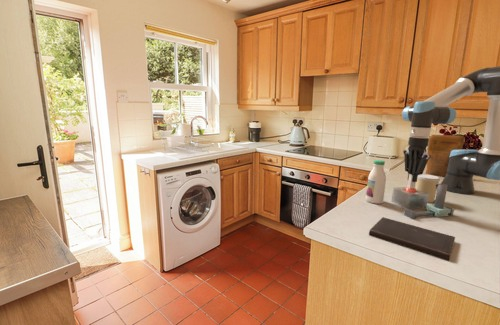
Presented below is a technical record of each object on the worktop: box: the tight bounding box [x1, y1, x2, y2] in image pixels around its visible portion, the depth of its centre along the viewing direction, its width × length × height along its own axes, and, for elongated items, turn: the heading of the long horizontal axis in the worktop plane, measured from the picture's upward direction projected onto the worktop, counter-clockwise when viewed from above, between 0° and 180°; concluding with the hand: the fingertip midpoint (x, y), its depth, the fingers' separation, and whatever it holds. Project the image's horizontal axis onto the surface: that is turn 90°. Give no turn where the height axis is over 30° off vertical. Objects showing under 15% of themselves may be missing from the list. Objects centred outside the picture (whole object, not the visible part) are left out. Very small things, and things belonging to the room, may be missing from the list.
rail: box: [403, 205, 455, 220], centre depth 111 cm, size 21×4×3 cm, turn 102°
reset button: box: [405, 186, 416, 193], centre depth 122 cm, size 4×4×6 cm
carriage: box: [425, 183, 451, 218], centre depth 111 cm, size 6×6×13 cm
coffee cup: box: [415, 173, 440, 203], centre depth 130 cm, size 9×9×12 cm
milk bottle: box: [365, 159, 387, 205], centre depth 125 cm, size 8×8×20 cm
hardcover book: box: [368, 216, 456, 262], centre depth 91 cm, size 16×23×2 cm
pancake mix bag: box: [425, 134, 466, 178], centre depth 177 cm, size 7×19×28 cm, turn 49°
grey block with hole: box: [390, 186, 429, 210], centre depth 123 cm, size 10×10×7 cm
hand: (410, 187), depth 122 cm, fingers closed
